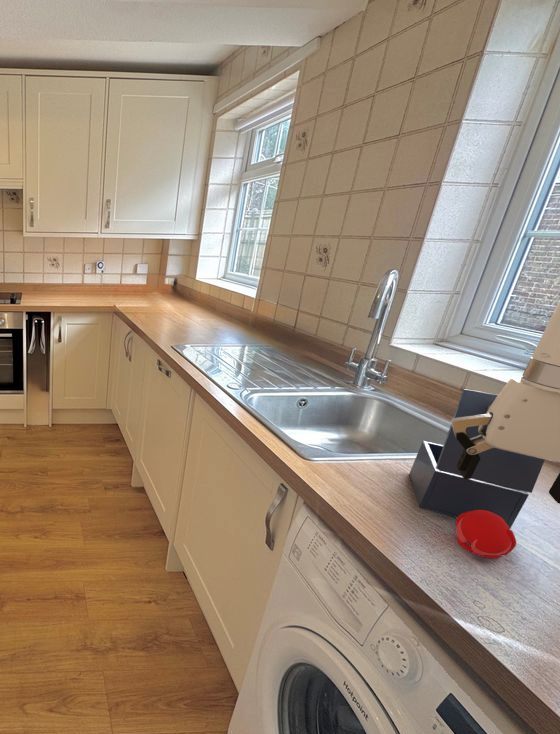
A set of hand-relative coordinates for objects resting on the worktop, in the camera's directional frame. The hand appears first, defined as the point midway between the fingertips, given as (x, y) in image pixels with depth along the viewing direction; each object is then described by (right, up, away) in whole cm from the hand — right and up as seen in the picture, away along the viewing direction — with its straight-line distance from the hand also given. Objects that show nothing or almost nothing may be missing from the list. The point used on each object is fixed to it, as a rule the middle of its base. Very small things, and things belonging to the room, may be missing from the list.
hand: (508, 486), depth 60 cm
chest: (+8, -7, +16) cm, 19 cm away
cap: (0, -11, +4) cm, 12 cm away
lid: (+5, +6, +7) cm, 10 cm away
